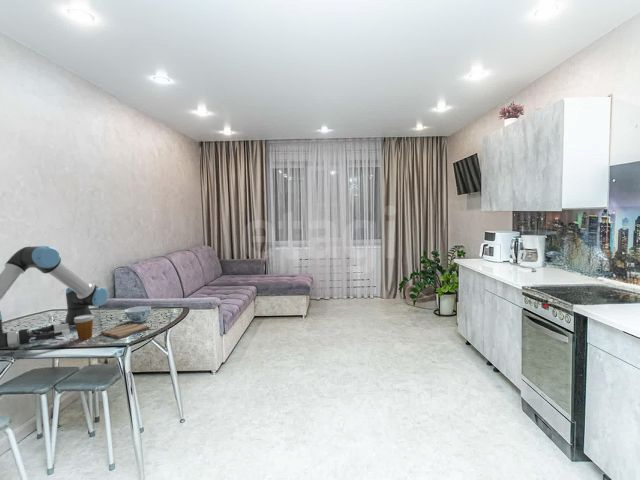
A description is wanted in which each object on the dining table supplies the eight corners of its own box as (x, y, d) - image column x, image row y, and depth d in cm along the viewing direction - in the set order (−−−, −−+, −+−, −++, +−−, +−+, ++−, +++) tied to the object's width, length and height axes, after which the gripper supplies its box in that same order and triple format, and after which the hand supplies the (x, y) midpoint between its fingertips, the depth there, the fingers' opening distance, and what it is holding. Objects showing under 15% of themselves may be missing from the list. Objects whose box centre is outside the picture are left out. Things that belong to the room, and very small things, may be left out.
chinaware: (141, 324, 233) (140, 312, 233) (120, 324, 236) (118, 312, 236) (156, 317, 248) (155, 306, 247) (136, 317, 251) (135, 306, 250)
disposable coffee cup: (81, 336, 216) (79, 315, 215) (98, 334, 217) (96, 313, 216) (71, 341, 206) (69, 319, 205) (90, 340, 207) (88, 318, 206)
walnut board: (101, 334, 218) (101, 331, 217) (131, 325, 233) (131, 323, 233) (119, 338, 208) (118, 335, 208) (149, 329, 223) (149, 326, 223)
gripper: (21, 338, 205) (68, 330, 217) (18, 351, 184) (70, 341, 197) (19, 325, 204) (67, 317, 216) (16, 336, 184) (69, 326, 196)
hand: (69, 328), depth 207 cm, fingers open, 13 cm apart
